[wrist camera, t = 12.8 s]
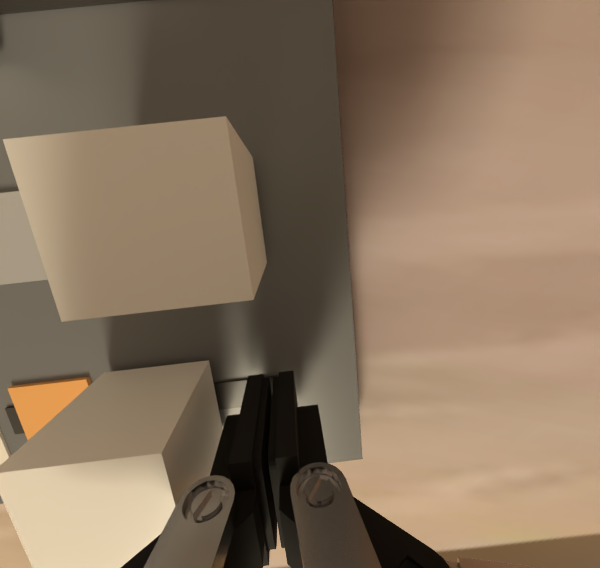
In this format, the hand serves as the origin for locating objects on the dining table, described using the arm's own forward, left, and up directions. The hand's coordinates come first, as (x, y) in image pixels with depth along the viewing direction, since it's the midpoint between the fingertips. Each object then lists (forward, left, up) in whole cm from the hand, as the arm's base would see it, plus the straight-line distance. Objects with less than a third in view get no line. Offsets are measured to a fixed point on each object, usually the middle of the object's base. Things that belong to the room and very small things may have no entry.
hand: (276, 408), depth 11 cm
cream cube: (+4, 0, -1) cm, 5 cm away
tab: (+2, -7, -1) cm, 7 cm away
